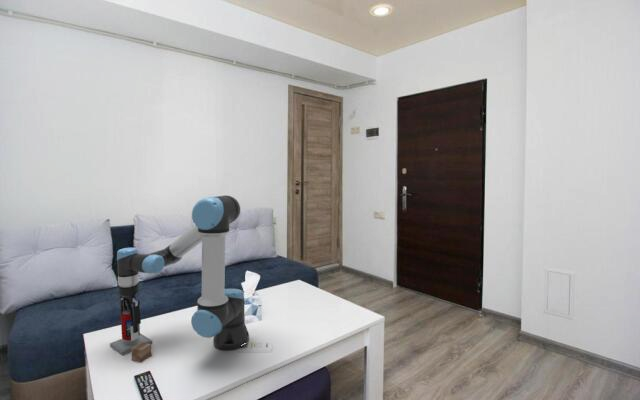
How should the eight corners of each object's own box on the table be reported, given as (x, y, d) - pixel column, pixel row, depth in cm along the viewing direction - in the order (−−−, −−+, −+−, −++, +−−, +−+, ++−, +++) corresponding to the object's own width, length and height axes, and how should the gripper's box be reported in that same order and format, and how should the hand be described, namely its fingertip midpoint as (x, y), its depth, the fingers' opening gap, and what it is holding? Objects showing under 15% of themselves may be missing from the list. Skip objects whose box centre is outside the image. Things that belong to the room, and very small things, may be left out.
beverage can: (131, 342, 139) (130, 314, 138) (118, 340, 140) (116, 313, 140) (143, 334, 146) (142, 308, 145) (130, 333, 147) (129, 307, 146)
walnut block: (151, 355, 135) (151, 344, 134) (141, 362, 130) (141, 350, 130) (142, 353, 136) (141, 342, 136) (131, 360, 132) (131, 348, 131)
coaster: (152, 343, 144) (152, 340, 144) (122, 355, 135) (122, 351, 135) (139, 335, 152) (139, 332, 152) (110, 346, 142) (110, 342, 142)
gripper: (148, 286, 138) (150, 340, 140) (127, 278, 150) (130, 327, 152) (129, 291, 132) (132, 347, 134) (109, 282, 144) (111, 333, 146)
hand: (131, 336), depth 143 cm, fingers closed on beverage can, 7 cm apart
